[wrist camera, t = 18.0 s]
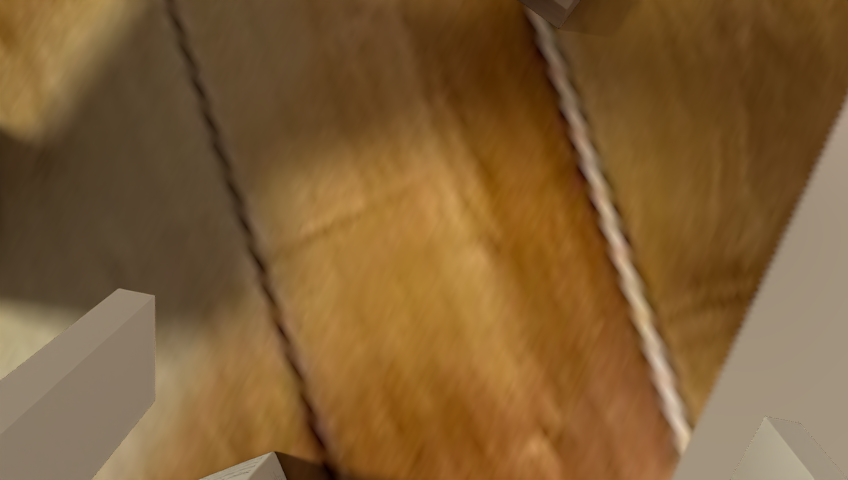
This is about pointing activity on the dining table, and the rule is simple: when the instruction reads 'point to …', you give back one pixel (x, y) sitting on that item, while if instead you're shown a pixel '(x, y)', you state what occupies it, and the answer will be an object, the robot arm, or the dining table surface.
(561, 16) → the socket stand
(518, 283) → the dining table surface
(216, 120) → the dining table surface
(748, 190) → the dining table surface
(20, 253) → the dining table surface
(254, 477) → the supplement box
